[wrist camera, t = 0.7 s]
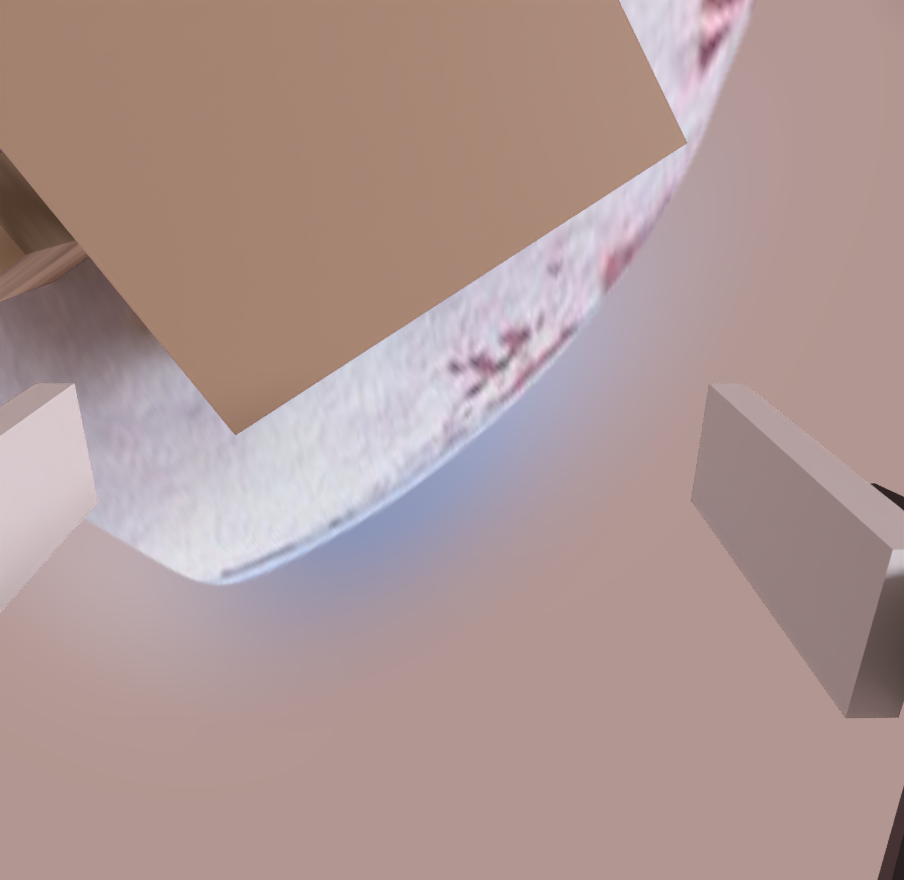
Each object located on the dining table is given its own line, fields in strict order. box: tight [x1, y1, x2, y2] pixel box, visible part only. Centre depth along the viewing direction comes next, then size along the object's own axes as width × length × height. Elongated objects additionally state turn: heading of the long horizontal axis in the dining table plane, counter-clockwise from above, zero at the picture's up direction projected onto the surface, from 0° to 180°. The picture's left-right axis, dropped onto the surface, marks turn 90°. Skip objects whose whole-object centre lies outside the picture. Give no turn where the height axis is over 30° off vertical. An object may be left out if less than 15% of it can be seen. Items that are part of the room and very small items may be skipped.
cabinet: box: [0, 0, 687, 435], centre depth 26 cm, size 16×15×17 cm
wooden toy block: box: [0, 152, 88, 302], centre depth 29 cm, size 4×21×10 cm, turn 123°
